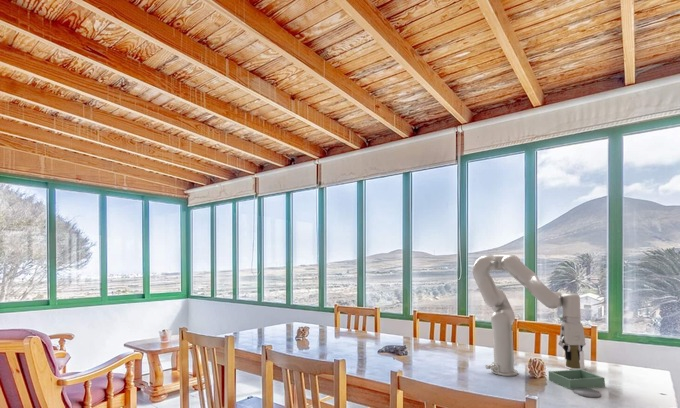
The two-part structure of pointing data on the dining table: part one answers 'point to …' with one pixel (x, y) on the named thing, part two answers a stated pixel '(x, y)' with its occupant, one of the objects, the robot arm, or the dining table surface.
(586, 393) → the mat
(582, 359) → the jar
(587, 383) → the green tray
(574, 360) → the cork
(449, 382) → the dining table surface
